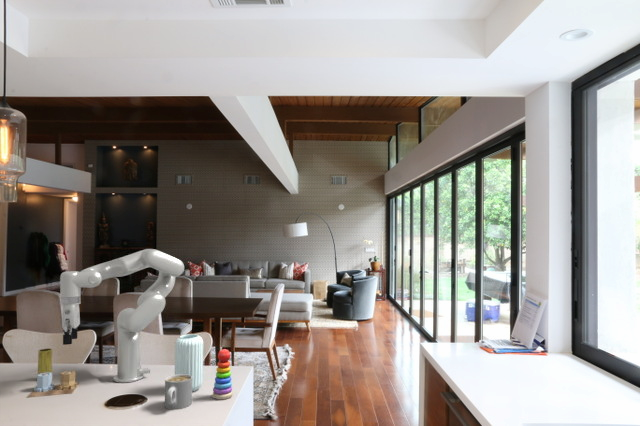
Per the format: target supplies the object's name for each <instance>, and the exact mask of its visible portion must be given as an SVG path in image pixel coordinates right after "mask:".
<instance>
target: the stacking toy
mask: <svg viewBox="0 0 640 426" xmlns="http://www.w3.org/2000/svg"><path fill="white" fill-rule="evenodd" d="M230 358H231V351H229V349H226V348H224V349H221V350H219V352H218V354H217V359H218V360H219V361H218V362H217V364H216V365H217V367H216V373H215V376H216V377H215V378H214V384H213V386H214V387H213V388H212V391H213V392H212V394H211V395H212V397H213V399H215V400H227V399H230V398H231V397H232V396H233V394H234V393H233V391H232V390H233V387H232V385H233V383H232V376H231V375H232V372H231V367H230V366H231V361H230Z"/></svg>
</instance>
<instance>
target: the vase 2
mask: <svg viewBox="0 0 640 426" xmlns="http://www.w3.org/2000/svg"><path fill="white" fill-rule="evenodd" d="M178 374H187V375H191V376H192V393H193V392H196V391H197V390H199V389H200V388H201V387H202V386H203V381H204V340H203V338H202V336H200V335H199V334H196V333H195V334H194V333H190V334H181V335H180V336H179V337H178V338H177V339H176V340H175V342H174V375H178Z"/></svg>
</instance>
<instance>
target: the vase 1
mask: <svg viewBox="0 0 640 426" xmlns="http://www.w3.org/2000/svg"><path fill="white" fill-rule="evenodd" d="M37 354H38V355H37V375H39V374H41V373H52V374H53V349H52V348H41V349H39V350H38V353H37Z"/></svg>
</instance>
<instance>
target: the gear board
mask: <svg viewBox="0 0 640 426" xmlns="http://www.w3.org/2000/svg"><path fill="white" fill-rule="evenodd" d="M69 373H71V372H66V373H65V374H69ZM45 375H48V374H42V376H45ZM77 383H78V385H77V387H78V386H79V384H80V382H77ZM54 385H55V387H54V389H52V390H48V391H45V392H43V391H42V392H36V391H34V389H33V390H32V391H31V392H30V393H29V394H28V395H27V396H26V398H28V399H29V398H37V397H38V398H39V397H40V398H41V397H49V396H59V395H60V396H62V395H72V394H73V392H75V390H76V389H77V387H75V388H73V389H68V390H63V389H62V390H59V389H58V385H59V384H54Z"/></svg>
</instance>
